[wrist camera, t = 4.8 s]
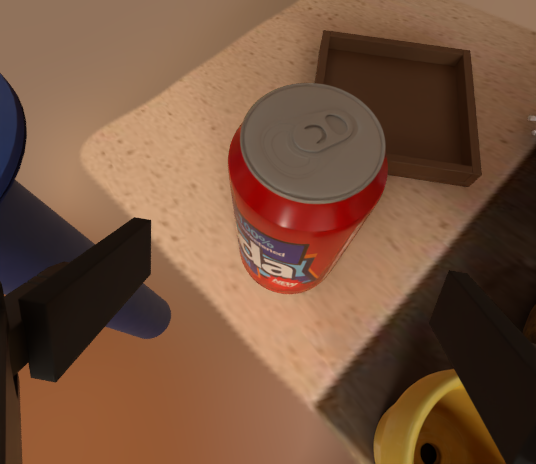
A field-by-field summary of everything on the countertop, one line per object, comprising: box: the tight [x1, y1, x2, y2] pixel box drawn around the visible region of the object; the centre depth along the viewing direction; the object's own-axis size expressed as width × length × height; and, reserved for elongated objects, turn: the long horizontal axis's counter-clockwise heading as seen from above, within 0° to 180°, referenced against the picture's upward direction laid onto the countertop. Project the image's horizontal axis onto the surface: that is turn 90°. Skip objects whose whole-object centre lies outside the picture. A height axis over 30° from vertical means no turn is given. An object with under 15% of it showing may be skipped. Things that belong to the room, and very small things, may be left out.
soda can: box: [228, 83, 388, 294], centre depth 22 cm, size 8×8×15 cm
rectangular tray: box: [315, 30, 482, 187], centre depth 34 cm, size 16×16×2 cm
